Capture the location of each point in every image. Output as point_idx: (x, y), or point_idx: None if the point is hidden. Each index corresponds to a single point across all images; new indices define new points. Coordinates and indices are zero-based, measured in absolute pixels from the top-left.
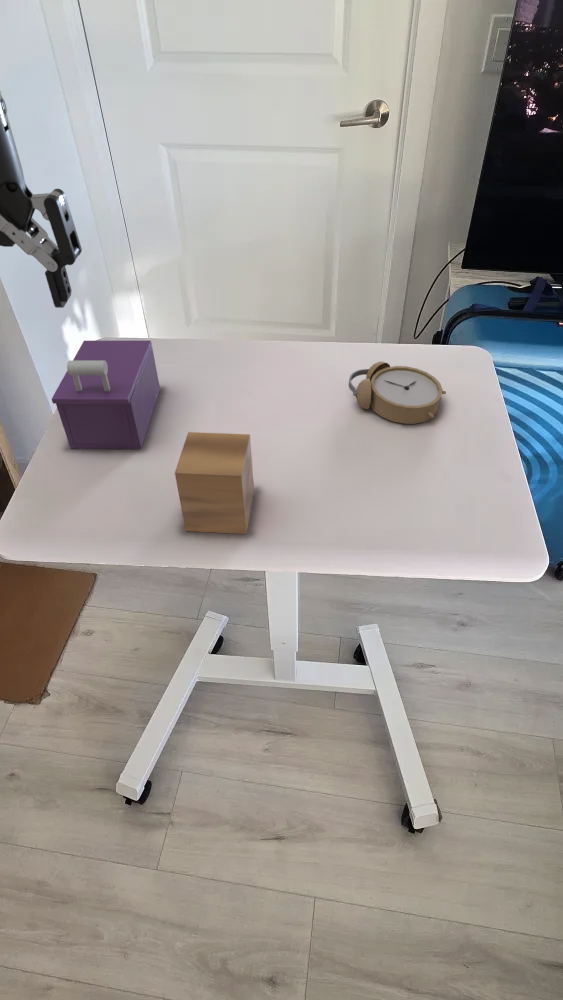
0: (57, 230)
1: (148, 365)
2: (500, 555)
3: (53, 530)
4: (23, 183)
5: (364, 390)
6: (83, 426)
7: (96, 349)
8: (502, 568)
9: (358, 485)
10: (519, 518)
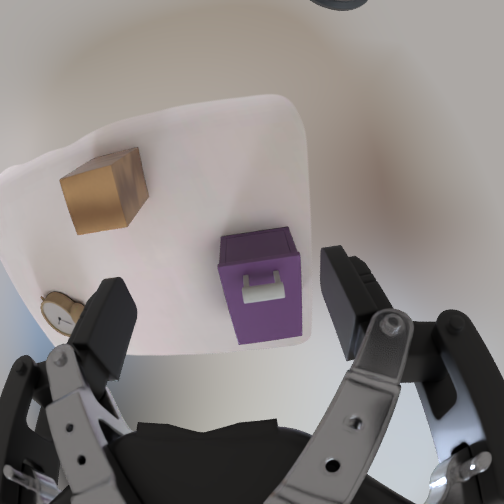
0: (2, 432)
1: None
2: None
3: (258, 121)
4: None
5: (74, 313)
6: (272, 242)
7: (285, 327)
8: None
9: (50, 229)
10: None
